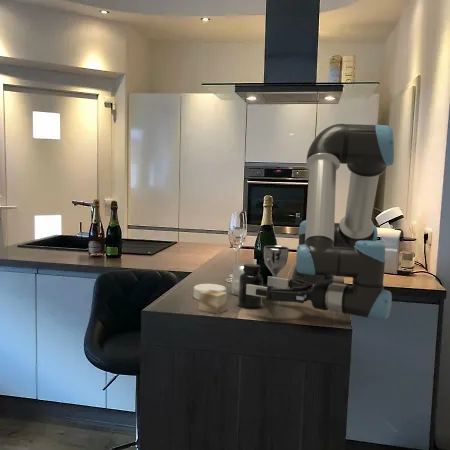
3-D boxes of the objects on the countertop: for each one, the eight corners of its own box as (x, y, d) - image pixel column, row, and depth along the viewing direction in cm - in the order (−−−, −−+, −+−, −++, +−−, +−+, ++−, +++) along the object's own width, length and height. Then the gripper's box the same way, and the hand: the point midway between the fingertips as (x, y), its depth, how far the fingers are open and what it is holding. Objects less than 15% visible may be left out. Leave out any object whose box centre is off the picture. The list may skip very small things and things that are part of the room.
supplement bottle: (259, 309, 139) (262, 268, 138) (236, 307, 140) (238, 266, 139) (262, 303, 146) (264, 264, 145) (240, 301, 147) (242, 262, 146)
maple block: (226, 310, 138) (227, 292, 137) (217, 314, 134) (218, 296, 133) (208, 306, 141) (209, 289, 140) (199, 310, 137) (199, 292, 136)
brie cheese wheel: (188, 295, 154) (189, 284, 153) (217, 293, 158) (218, 282, 157) (200, 303, 145) (200, 291, 144) (231, 301, 149) (231, 289, 148)
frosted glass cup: (253, 291, 161) (254, 264, 160) (253, 296, 154) (255, 267, 153) (231, 290, 161) (233, 263, 160) (231, 295, 154) (233, 266, 153)
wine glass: (282, 290, 165) (284, 245, 163) (289, 295, 157) (291, 249, 156) (259, 290, 164) (261, 245, 162) (265, 295, 156) (267, 249, 154)
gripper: (312, 321, 120) (236, 306, 130) (342, 301, 141) (275, 289, 152) (314, 291, 119) (237, 278, 130) (344, 275, 141) (276, 265, 151)
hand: (257, 284), depth 141 cm, fingers open, 13 cm apart
